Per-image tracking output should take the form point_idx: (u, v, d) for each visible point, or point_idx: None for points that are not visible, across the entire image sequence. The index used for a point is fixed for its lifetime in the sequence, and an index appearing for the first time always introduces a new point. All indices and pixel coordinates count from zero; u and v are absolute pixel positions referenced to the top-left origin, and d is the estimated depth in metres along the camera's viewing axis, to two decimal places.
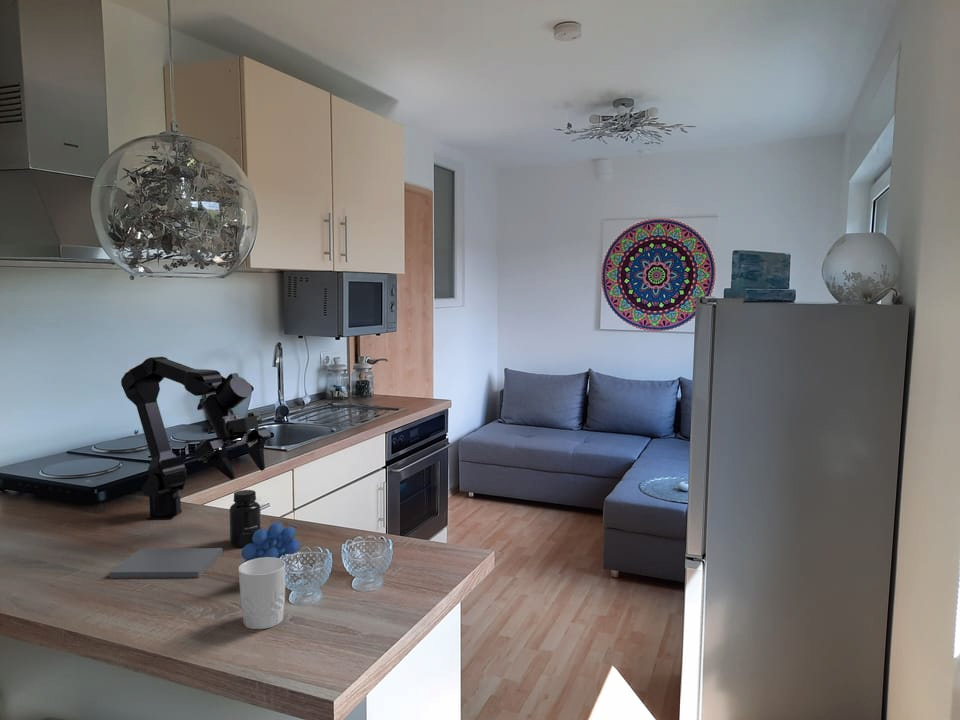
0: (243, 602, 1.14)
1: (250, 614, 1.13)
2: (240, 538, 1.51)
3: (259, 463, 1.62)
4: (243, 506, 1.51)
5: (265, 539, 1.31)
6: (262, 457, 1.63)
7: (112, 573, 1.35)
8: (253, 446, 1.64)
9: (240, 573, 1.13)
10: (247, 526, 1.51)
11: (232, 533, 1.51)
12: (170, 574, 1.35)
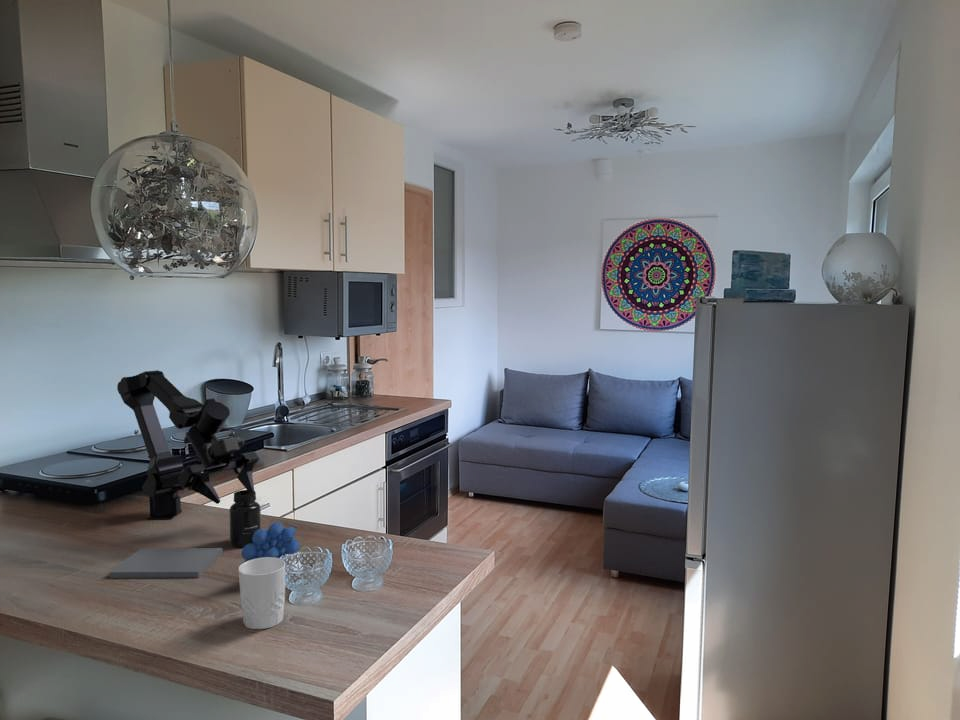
0: (243, 602, 1.14)
1: (250, 614, 1.13)
2: (240, 538, 1.51)
3: (248, 486, 1.59)
4: (243, 506, 1.51)
5: (265, 539, 1.31)
6: (251, 480, 1.60)
7: (112, 573, 1.35)
8: (242, 471, 1.62)
9: (240, 573, 1.13)
10: (247, 526, 1.51)
11: (232, 533, 1.51)
12: (170, 574, 1.35)
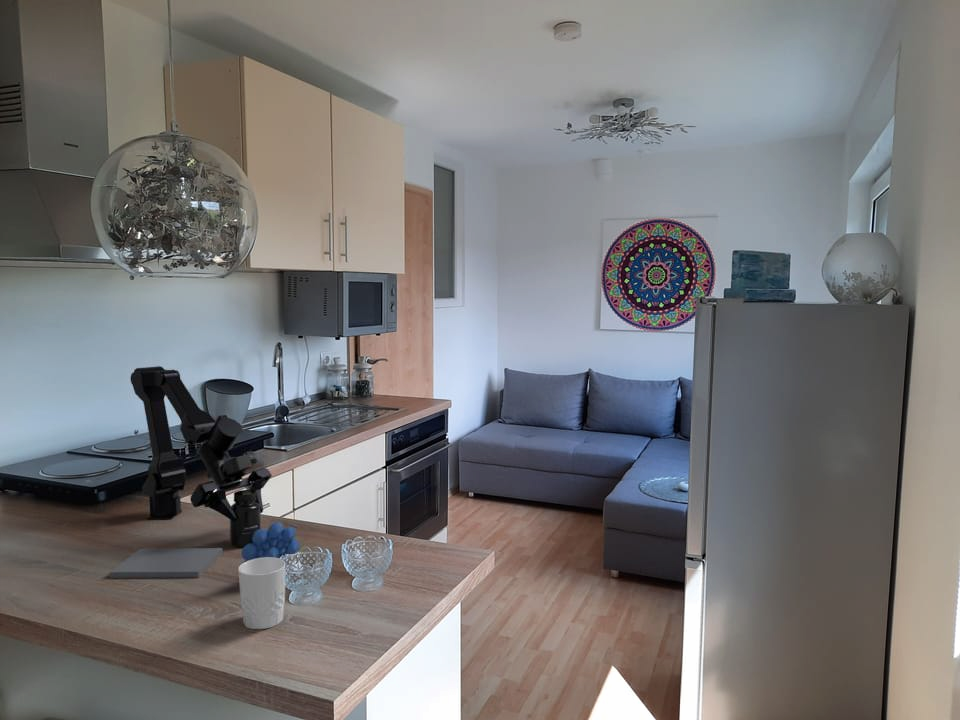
0: (243, 602, 1.14)
1: (250, 614, 1.13)
2: (240, 538, 1.51)
3: None
4: (243, 506, 1.51)
5: (265, 539, 1.31)
6: (259, 499, 1.57)
7: (112, 573, 1.35)
8: (250, 489, 1.59)
9: (240, 573, 1.13)
10: (247, 526, 1.51)
11: (232, 533, 1.51)
12: (170, 574, 1.35)
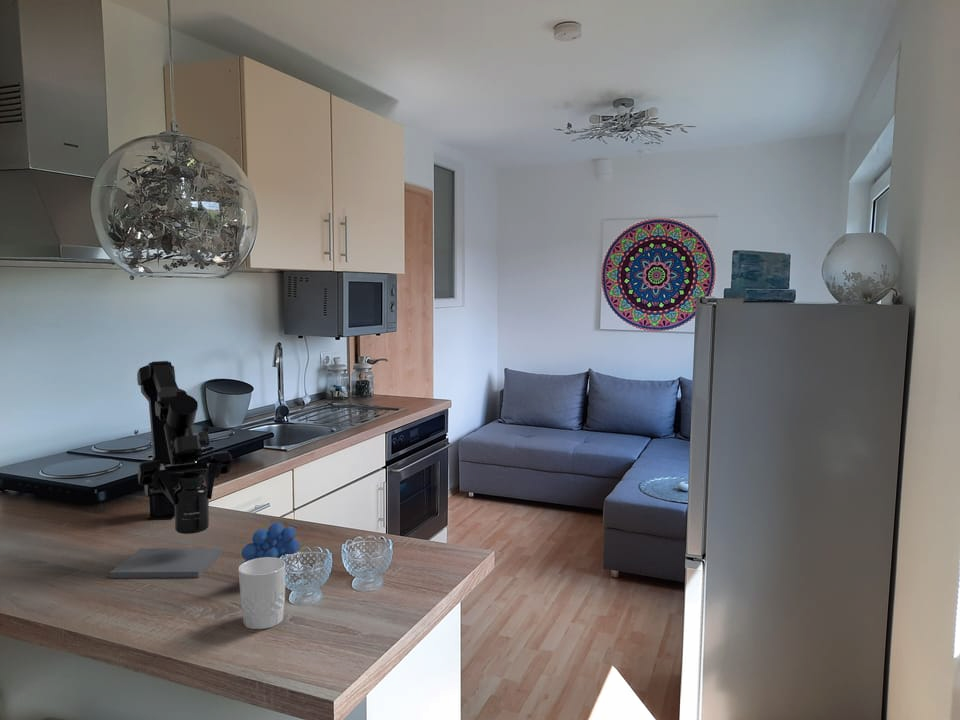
0: (243, 602, 1.14)
1: (250, 614, 1.13)
2: (180, 523, 1.40)
3: (208, 490, 1.45)
4: (184, 490, 1.41)
5: (265, 539, 1.31)
6: (211, 484, 1.45)
7: (112, 573, 1.35)
8: (207, 473, 1.48)
9: (240, 573, 1.13)
10: (186, 512, 1.40)
11: (175, 517, 1.42)
12: (170, 574, 1.35)
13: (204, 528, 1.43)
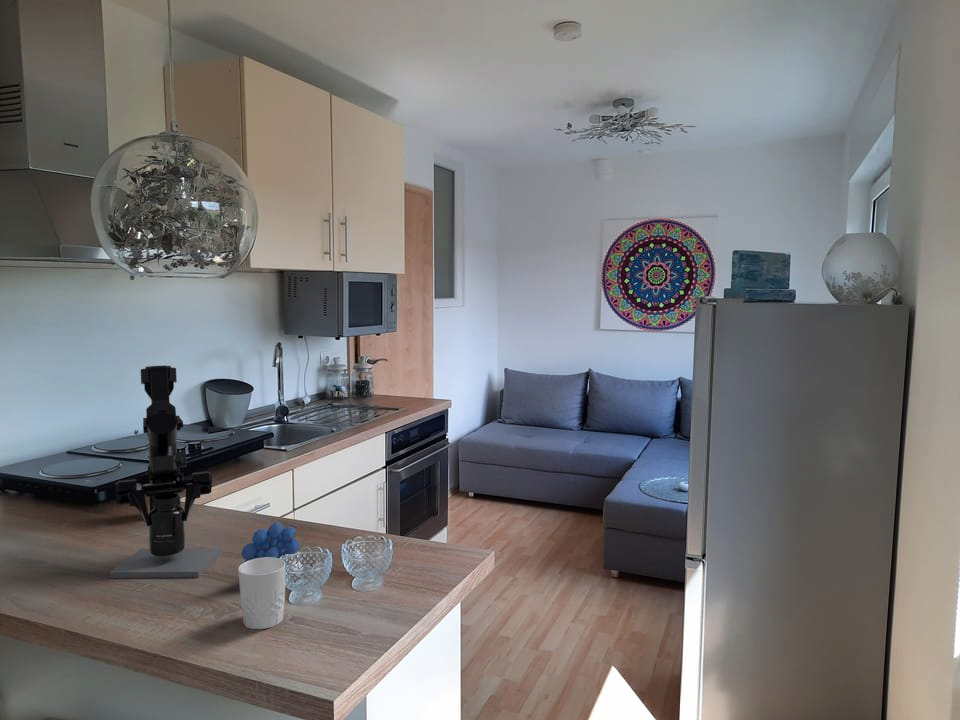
0: (243, 602, 1.14)
1: (250, 614, 1.13)
2: (153, 545, 1.38)
3: (184, 512, 1.42)
4: (158, 511, 1.38)
5: (265, 539, 1.31)
6: (187, 505, 1.42)
7: (112, 573, 1.35)
8: None
9: (240, 573, 1.13)
10: (159, 534, 1.37)
11: (149, 538, 1.39)
12: (170, 574, 1.35)
13: (178, 551, 1.40)
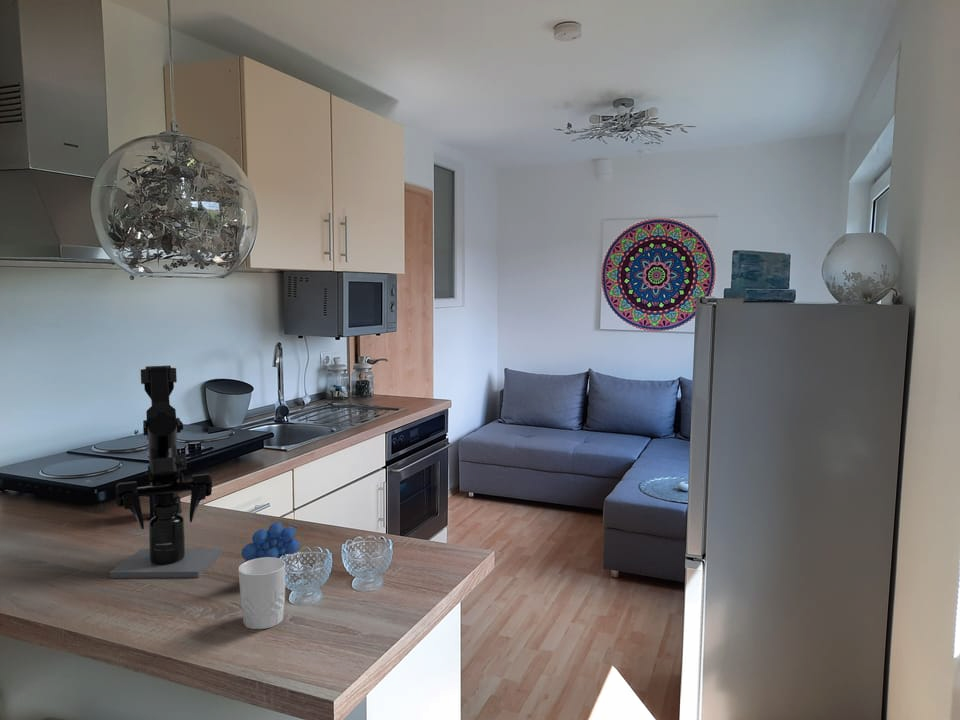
0: (243, 602, 1.14)
1: (250, 614, 1.13)
2: (153, 553, 1.38)
3: None
4: (158, 519, 1.38)
5: (265, 539, 1.31)
6: (192, 506, 1.42)
7: (112, 573, 1.35)
8: None
9: (240, 573, 1.13)
10: (159, 542, 1.37)
11: (149, 547, 1.39)
12: (170, 574, 1.35)
13: (177, 559, 1.40)
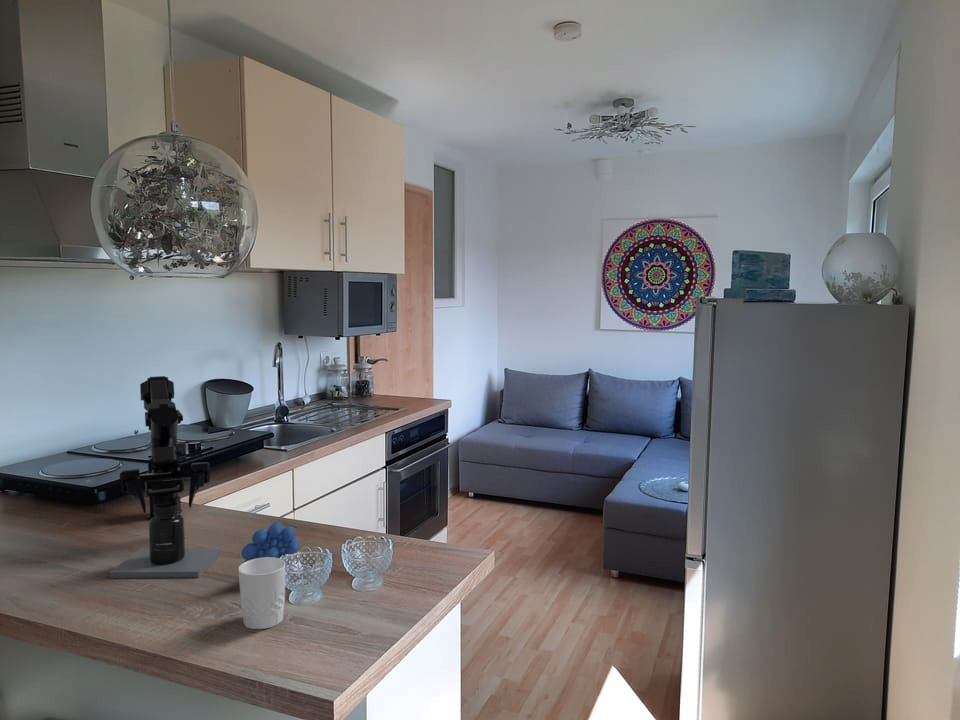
0: (243, 602, 1.14)
1: (250, 614, 1.13)
2: (153, 553, 1.38)
3: None
4: (158, 519, 1.38)
5: (265, 539, 1.31)
6: (191, 493, 1.52)
7: (112, 573, 1.35)
8: None
9: (240, 573, 1.13)
10: (159, 542, 1.37)
11: (149, 547, 1.39)
12: (170, 574, 1.35)
13: (177, 559, 1.40)
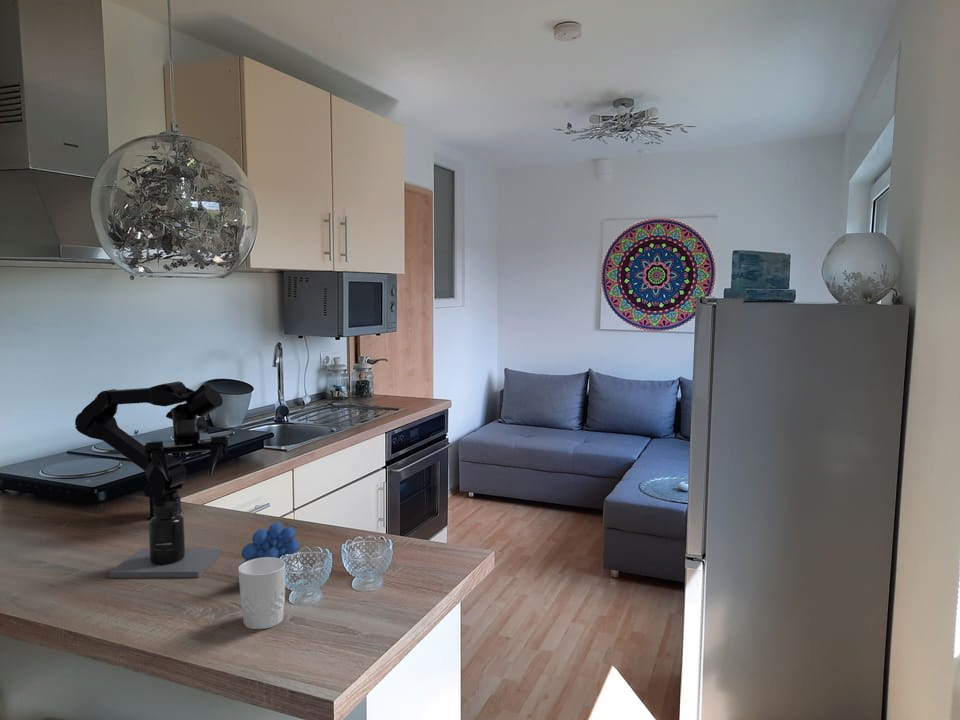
0: (243, 602, 1.14)
1: (250, 614, 1.13)
2: (153, 553, 1.38)
3: None
4: (158, 519, 1.38)
5: (265, 539, 1.31)
6: (211, 463, 1.63)
7: (112, 573, 1.35)
8: None
9: (240, 573, 1.13)
10: (159, 542, 1.37)
11: (149, 547, 1.39)
12: (170, 574, 1.35)
13: (177, 559, 1.40)
